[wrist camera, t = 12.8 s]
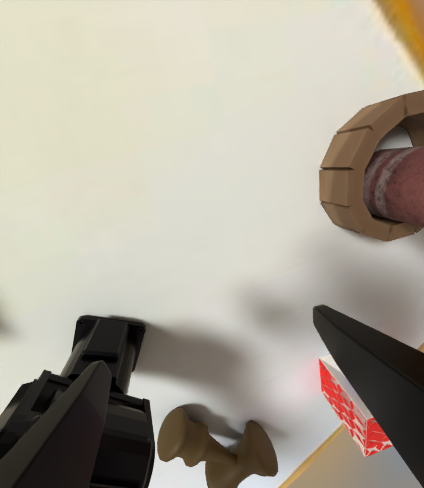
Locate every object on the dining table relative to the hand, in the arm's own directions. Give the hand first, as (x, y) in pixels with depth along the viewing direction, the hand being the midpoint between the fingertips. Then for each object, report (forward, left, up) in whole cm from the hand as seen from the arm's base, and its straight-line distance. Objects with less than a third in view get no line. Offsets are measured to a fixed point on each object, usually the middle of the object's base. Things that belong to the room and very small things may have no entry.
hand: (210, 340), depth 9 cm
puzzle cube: (-13, -28, -13) cm, 33 cm away
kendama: (-28, -13, -13) cm, 33 cm away
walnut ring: (+12, -16, -12) cm, 23 cm away
